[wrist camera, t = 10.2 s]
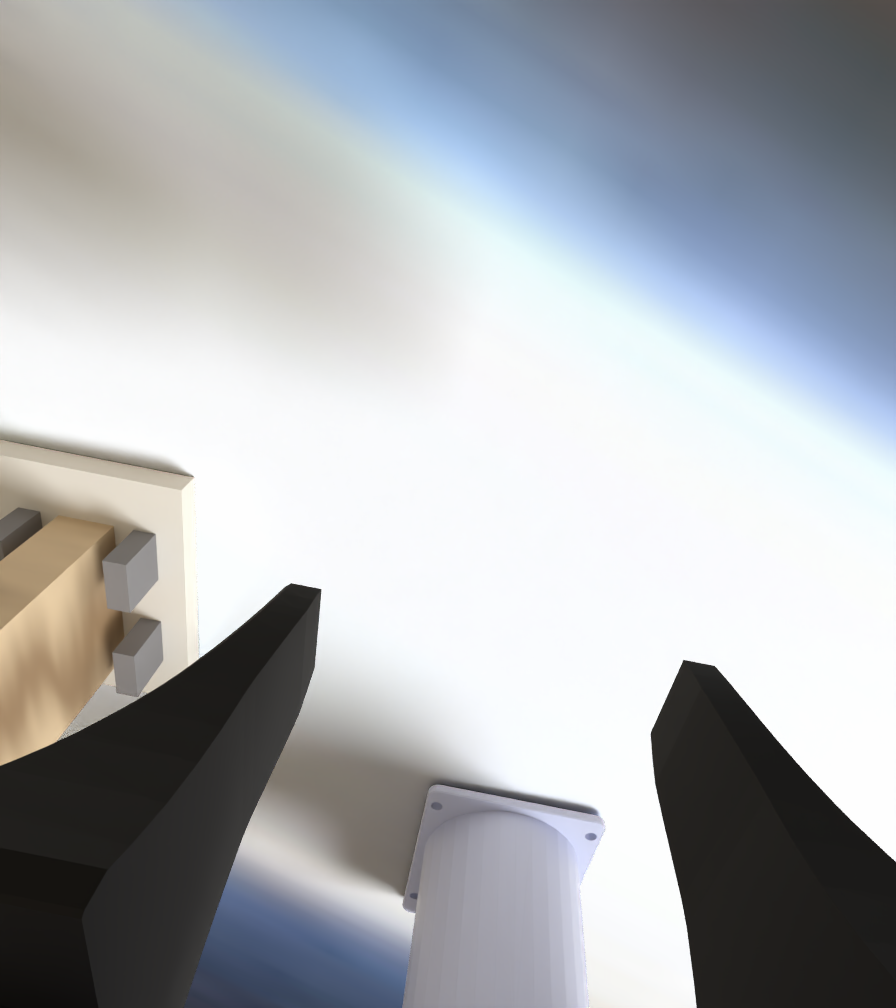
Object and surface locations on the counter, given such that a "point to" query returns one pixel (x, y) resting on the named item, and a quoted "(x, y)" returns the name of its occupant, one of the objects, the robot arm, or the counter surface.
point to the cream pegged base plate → (118, 549)
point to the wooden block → (53, 632)
